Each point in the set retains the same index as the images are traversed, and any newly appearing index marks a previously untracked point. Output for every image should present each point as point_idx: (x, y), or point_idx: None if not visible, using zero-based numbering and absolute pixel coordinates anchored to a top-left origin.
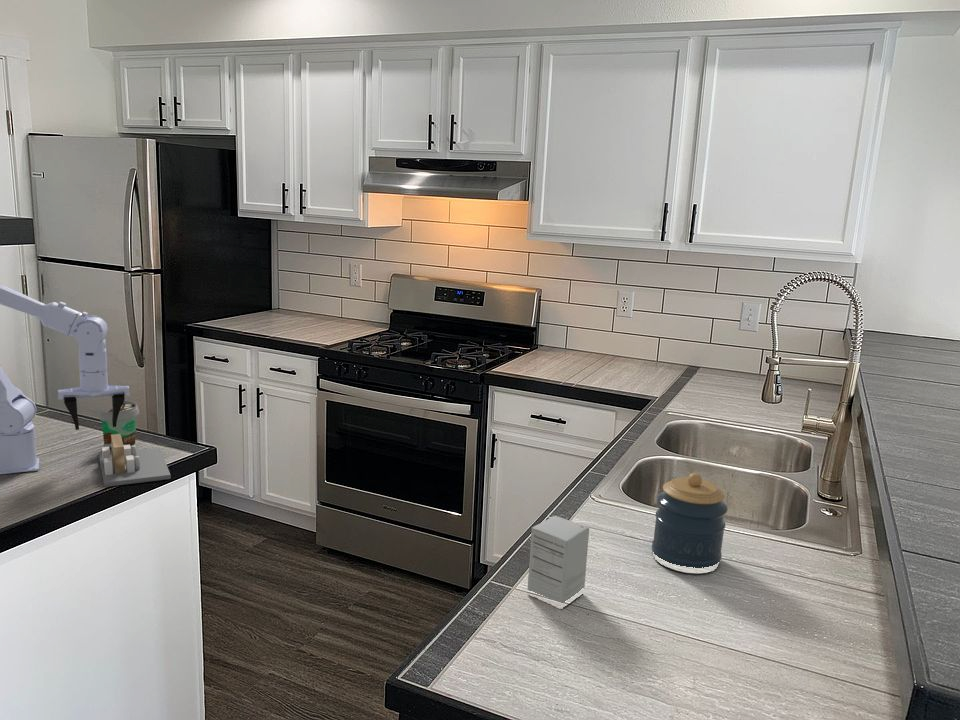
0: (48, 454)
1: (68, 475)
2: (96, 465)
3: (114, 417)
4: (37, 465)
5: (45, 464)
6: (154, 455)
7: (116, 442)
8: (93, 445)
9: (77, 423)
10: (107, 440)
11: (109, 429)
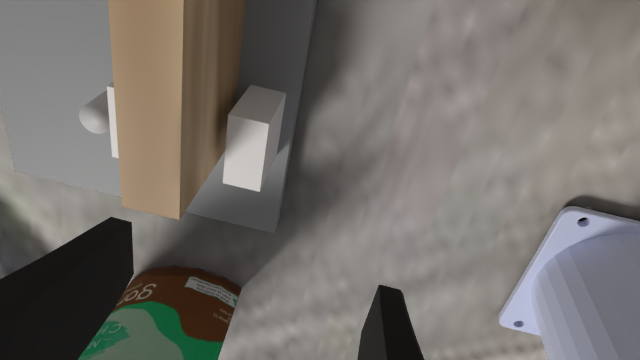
0: (440, 347)
1: (477, 66)
2: (312, 135)
3: (62, 264)
4: (550, 247)
5: (498, 261)
6: (31, 75)
7: (154, 22)
8: (270, 345)
9: (390, 324)
10: (216, 312)
11: (185, 350)
